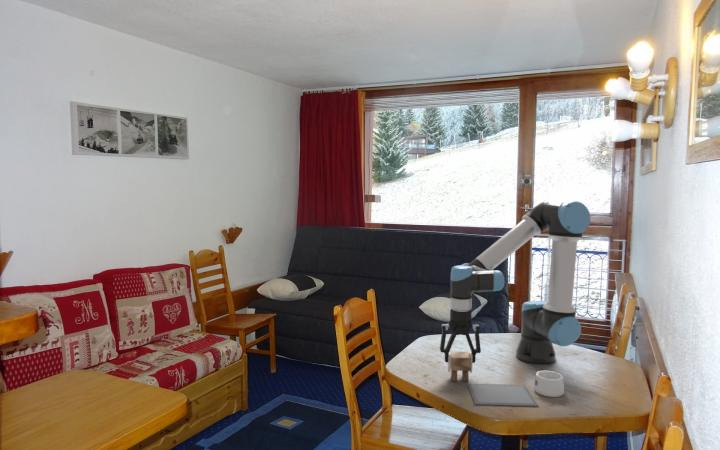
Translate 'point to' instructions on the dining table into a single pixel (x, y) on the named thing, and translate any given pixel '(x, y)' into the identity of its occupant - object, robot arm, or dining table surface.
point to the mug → (549, 383)
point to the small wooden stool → (460, 364)
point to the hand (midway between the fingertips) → (459, 370)
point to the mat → (501, 395)
